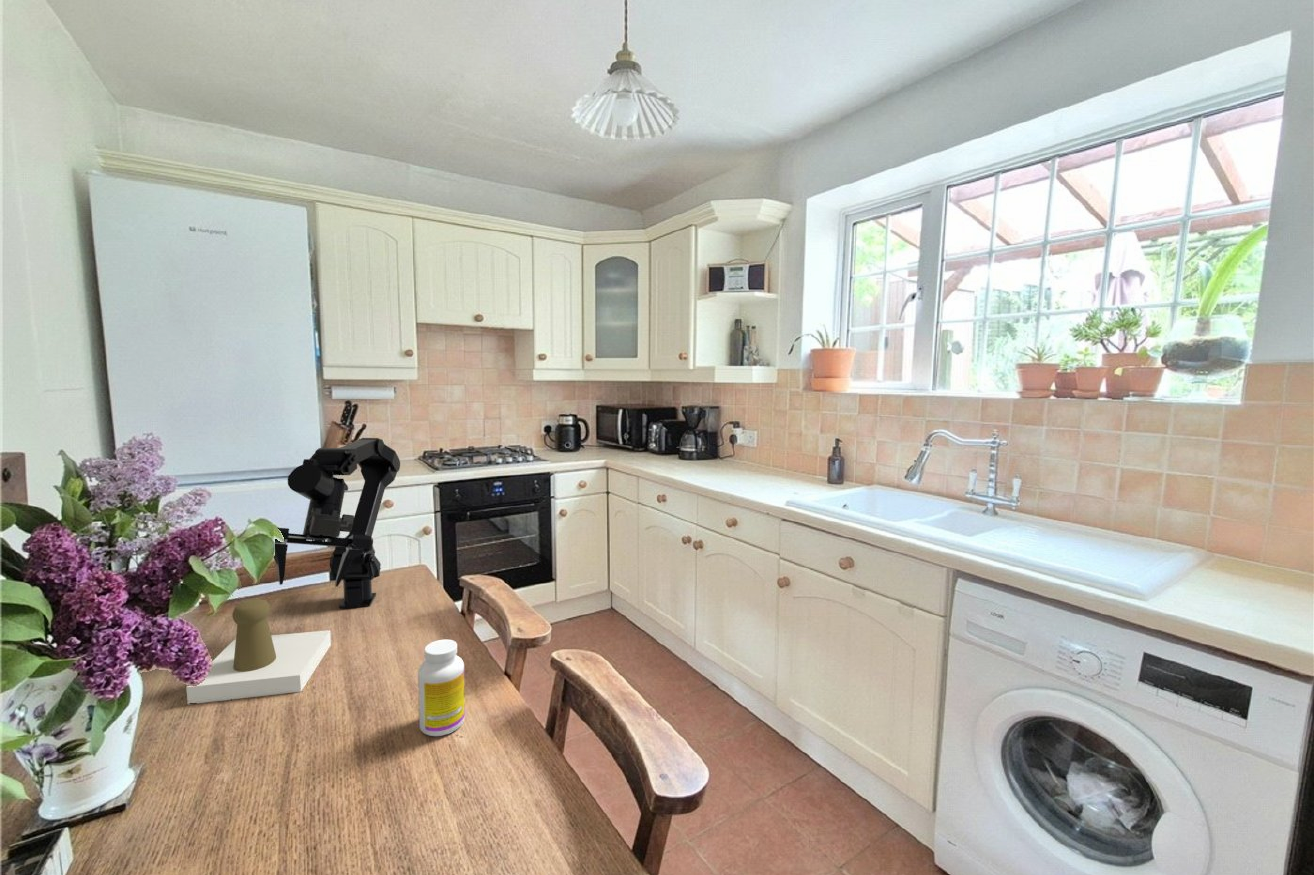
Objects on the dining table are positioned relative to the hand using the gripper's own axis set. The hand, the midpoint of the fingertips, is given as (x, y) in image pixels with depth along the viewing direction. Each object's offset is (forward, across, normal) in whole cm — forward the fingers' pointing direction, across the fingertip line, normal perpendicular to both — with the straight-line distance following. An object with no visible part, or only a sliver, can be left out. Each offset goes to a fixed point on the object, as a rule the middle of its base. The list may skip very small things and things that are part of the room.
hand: (309, 585), depth 102 cm
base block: (+15, -4, +1) cm, 16 cm away
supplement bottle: (+24, +18, -30) cm, 42 cm away
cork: (+14, -6, -1) cm, 15 cm away
